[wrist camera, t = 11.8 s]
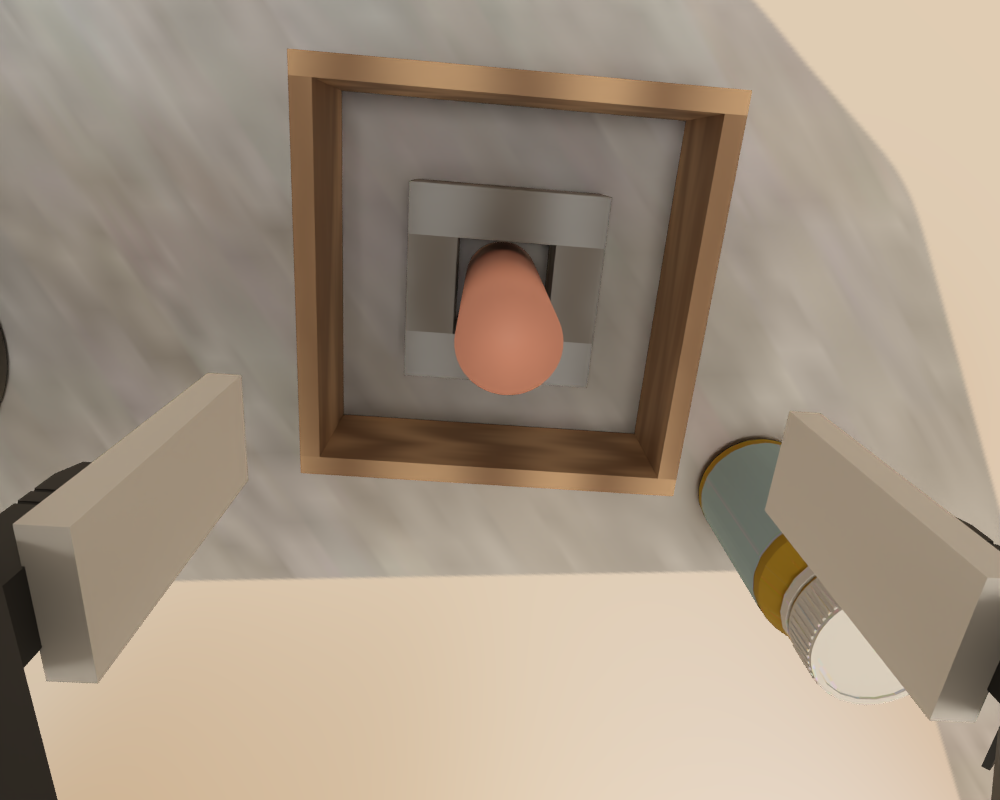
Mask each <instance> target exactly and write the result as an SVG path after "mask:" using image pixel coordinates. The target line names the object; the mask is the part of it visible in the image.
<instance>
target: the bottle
mask: <svg viewBox="0 0 1000 800" xmlns="http://www.w3.org/2000/svg"><path fill="white" fill-rule="evenodd" d="M780 447H781V442H778V441H773V440H768V439H758V440H748V441H744V442H742V443H739V444H737V445H734V446H732V447H730V448H728V449H726V450H725V451H724V452H722V453H721V454H720V455H718V456H717V457H716V458H715V459H714V460H713V461H712V463H711V464H710V465H709V467H708V468H707V469H706V471H705V473H704V474H703V477H702V480H701V483H700V486H699V503H700V506H701V509H702V511H703V514H704V516H705V518H706V520H707V522H708V523H709V525H710V527H711V528H712V530H713V532H714V533H715V535H716V537H717V538H718V540H719V542H720V543H721V545H722V547H723V548H724V550H725V552H726V553H727V555H728V557H729V558H730V560H731V562H732V563H733V565H734V567H735V568H736V570H737V572H738V573H739V575H740V577H741V578H742V580H743V582H744V583H745V585H746V587H747V588H748V590H749V592H750V593H751V595H752V597H753V598H754V600H755V602H756V603H757V605H758V607H759V608H760V609H761V611H762V612H763V613H764V615H765V617H766V618H767V619H768V621H769V622H770V623H772V625H773V626H774V627H775V628H776V629H778V630H780V631H781V632H782V633H784V634H785V635H786V636H788V637H789V639H790V640H791V642H792V643H793V646H794V648H795V650H796V652H797V653H798V655H799V657H800V658H801V660H802V661H803V663H804V665H805V666H806V668H807V669H808V671H809V673H810V674H811V676H812V678H813V679H814V680H815V681H816V683H817V684H818V685H820V687H821V688H822V689H823V690H825V691H826V692H827V693H828V694H830V695H831V696H833V697H835V698H837V699H839V700H842V701H845V702H848V703H853V704H862V705H871V704H881V703H886V702H890V701H894V700H897V699H900V698H903V697H905V696H907V695H909V694H908V692H907V691H906V690H905V689H904V687H903V686H902V685H901V683H900V682H899V681H898V680H897V678H896V677H895V676H894V675H893V673H892V672H891V671H890V669H889V668H888V667H887V666H886V664H885V663H884V662H883V661H882V659H881V658H880V657H879V655H878V654H877V653H876V652H875V650H874V649H873V648H872V647H871V645H870V644H869V643H868V641H867V640H866V639H865V638H864V636H863V635H862V634H861V633H860V631H859V630H858V629H857V627H856V626H855V625H854V624H853V622H852V621H851V620H850V618H849V617H848V616H847V615H846V613H845V612H844V611H843V610H842V608H841V607H840V606H839V604H838V603H837V602H836V601H835V599H834V598H833V597H832V596H831V594H830V593H829V592H828V590H827V589H826V588H825V587H824V585H823V584H822V583H821V582H820V580H819V579H818V578H817V576H816V575H815V574H814V573H813V571H812V570H811V569H810V568H809V566H808V565H807V564H806V562H805V561H804V560H803V559H802V557H801V556H800V555H799V554H798V552H797V551H796V550H795V548H794V547H793V546H792V545H791V543H790V542H789V541H788V539H787V538H786V537H785V536H784V534H783V533H782V532H781V531H780V529H779V528H778V527H777V525H776V524H775V523H774V522H773V520H772V519H771V518H770V517H769V515H768V514H767V513H766V511H765V507H766V503H767V499H768V495H769V491H770V487H771V483H772V479H773V475H774V471H775V467H776V463H777V459H778V455H779V451H780Z"/></svg>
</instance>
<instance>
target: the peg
mask: <svg viewBox="0 0 1000 800" xmlns="http://www.w3.org/2000/svg"><path fill="white" fill-rule="evenodd" d="M454 348H455V354H456V357H457V361H458V363H459V365H460V367H461V369H462V370H463V372H464V373H465V375H466V376H467V377H468V378H469V379H470V380H471V381H472V382H473V383H474V384H476V385H477V386H479V387H480V388H482V389H484V390H486V391H489V392H492V393H496V394H501V395H515V394H521V393H525V392H528V391H530V390H533V389H534V388H536V387H538V386H540V385H541V384H542V383H544V382H545V381H546V380H547V379H548V378H549V377H550V376H551V375H552V373H553V372H554V371H555V369H556V368H557V366H558V364H559V361H560V359H561V356H562V351H563V332H562V328H561V325H560V322H559V320H558V317H557V315H556V313H555V310H554V308H553V306H552V304H551V301H550V299H549V297H548V295H547V292H546V290H545V288H544V285H543V283H542V281H541V279H540V276H539V274H538V272H537V269H536V267H535V265H534V263H533V261H532V259H531V257H530V256H529V254H528V253H527V252H526V251H525V250H523V249H522V248H521V247H519V246H517V245H515V244H513V243H509V242H494V243H490V244H488V245H485V246H484V247H482V248H481V249H479V250H478V251H477V252H476V253H475V254H474V256H473V257H472V258H471V260H470V262H469V265H468V268H467V272H466V277H465V283H464V288H463V293H462V299H461V304H460V310H459V315H458V320H457V326H456V331H455V338H454Z"/></svg>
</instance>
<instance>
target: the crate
mask: <svg viewBox="0 0 1000 800" xmlns="http://www.w3.org/2000/svg"><path fill="white" fill-rule="evenodd" d="M287 60H288V91H289V122H290V153H291V184H292V215H293V245H294V276H295V307H296V338H297V369H298V400H299V431H300V462H301V473H310V474H326V475H342V476H358V477H374V478H390V479H406V480H422V481H438V482H454V483H470V484H486V485H502V486H518V487H534V488H550V489H566V490H582V491H598V492H614V493H630V494H646V495H662V496H673V494H674V489H675V483H676V478H677V473H678V468H679V463H680V458H681V453H682V448H683V442H684V437H685V432H686V427H687V422H688V417H689V412H690V407H691V401H692V396H693V391H694V386H695V381H696V376H697V371H698V366H699V360H700V355H701V350H702V345H703V340H704V335H705V330H706V324H707V319H708V314H709V309H710V304H711V299H712V294H713V289H714V283H715V278H716V273H717V268H718V263H719V258H720V253H721V248H722V242H723V237H724V232H725V227H726V222H727V217H728V212H729V207H730V201H731V196H732V191H733V186H734V181H735V176H736V171H737V166H738V160H739V155H740V150H741V145H742V140H743V135H744V130H745V125H746V119H747V114H748V109H749V104H750V99H751V94H752V90H741V89H729V88H718V87H707V86H696V85H685V84H674V83H663V82H652V81H641V80H630V79H619V78H607V77H596V76H585V75H574V74H563V73H552V72H541V71H530V70H519V69H508V68H497V67H485V66H474V65H463V64H452V63H441V62H430V61H419V60H408V59H397V58H386V57H375V56H363V55H352V54H341V53H330V52H319V51H308V50H297V49H287ZM342 91H352V92H364V93H375V94H386V95H398V96H409V97H421V98H432V99H443V100H455V101H466V102H477V103H489V104H500V105H512V106H523V107H534V108H546V109H557V110H569V111H580V112H591V113H603V114H614V115H626V116H637V117H648V118H660V119H671V120H683V121H686V124H685V130H684V136H683V142H682V148H681V154H680V160H679V166H678V172H677V178H676V184H675V190H674V196H673V203H672V209H671V215H670V221H669V227H668V233H667V239H666V245H665V251H664V257H663V263H662V269H661V275H660V281H659V287H658V293H657V299H656V306H655V312H654V318H653V324H652V330H651V336H650V342H649V348H648V354H647V360H646V366H645V372H644V378H643V384H642V390H641V396H640V402H639V408H638V415H637V421H636V427H635V433H634V434H629V433H614V432H599V431H584V430H569V429H554V428H539V427H524V426H509V425H494V424H479V423H464V422H449V421H434V420H418V419H403V418H388V417H373V416H358V415H344V399H343V241H342ZM611 202H612V198H611V197H608V196H605V195H602V194H594V193H582V192H570V191H558V190H546V189H534V188H522V187H509V186H497V185H485V184H473V183H461V182H449V181H437V180H424V179H415V180H411V181H409V212H408V248H407V283H406V318H405V354H404V375H408V376H423V377H437V378H452V379H466V380H470V379H469V378H468V377H467V376H466V375H465V373H464V372H463V370H462V369H461V367H460V365H459V363H458V361H457V357H456V354H455V348H454V338H455V331H456V326H457V320H458V319H457V318H456V303H457V285H458V267H459V249H460V238H471V239H483V240H496V241H509V242H522V243H534V244H547V245H549V254H548V264H547V274H546V283H545V290H546V292H547V295H548V297H549V299H550V301H551V304H552V306H553V308H554V310H555V313H556V315H557V317H558V320H559V322H560V325H561V328H562V332H563V351H562V356H561V359H560V361H559V364H558V366H557V368H556V369H555V371H554V372H553V373H552V375H551V376H550V377H549V378H548V379H547V380H546V381H545V382H544V383H542V384H541V385H553V386H567V387H581V388H587V382H588V375H589V367H590V360H591V352H592V345H593V337H594V330H595V322H596V315H597V307H598V300H599V292H600V285H601V277H602V270H603V262H604V255H605V247H606V240H607V232H608V225H609V217H610V210H611Z"/></svg>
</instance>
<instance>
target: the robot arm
mask: <svg viewBox="0 0 1000 800" xmlns="http://www.w3.org/2000/svg"><path fill="white" fill-rule="evenodd" d="M6 376H7V359H6V350H5V345H4V340H3V336H2V333H1V330H0V402H1V399H2V396H3V393H4V389H5V384H6ZM247 481H248V470H247V455H246V440H245V425H244V410H243V395H242V380H241V375H233V374H218V373H207V374H206V375H204V376H203V377H202V378H201V379H199V380H198V381H197V382H195V383H194V384H193V385H191V386H190V387H189V388H188V389H186V390H185V391H184V392H182V393H181V394H180V395H179V396H177V397H176V398H175V399H173V400H172V401H171V402H170V403H168V404H167V405H166V406H164V407H163V408H162V409H160V410H159V411H158V412H157V413H155V414H154V415H153V416H151V417H150V418H149V419H148V420H146V421H145V422H144V423H142V424H141V425H140V426H139V427H137V428H136V429H135V430H133V431H132V432H131V433H130V434H128V435H127V436H126V437H124V438H123V439H122V440H120V441H119V442H118V443H117V444H115V445H114V446H113V447H111V448H110V449H109V450H108V451H106V452H105V453H104V454H102V455H101V456H100V457H99V458H97V459H96V460H95V461H93V462H82V463H79V464H77V465H74V466H72V467H70V468H67V469H65V470H62V471H60V472H58V473H55V474H54V475H52V476H51V477H50V478H48V479H47V480H45V481H44V482H43V483H41V484H40V485H39V486H37V487H36V488H35V490H34V491H30V492H29V493H28V494H26V495H25V496H24V497H22V498H21V499H20V500H18V504H13V505H11V506H10V507H9V508H7V509H6V510H5V511H3V512H2V513H0V800H57V796H56V792H55V788H54V785H53V780H52V777H51V773H50V769H49V765H48V761H47V757H46V753H45V749H44V746H43V742H42V738H41V734H40V730H39V726H38V722H37V718H36V715H35V711H34V707H33V703H32V699H31V695H30V691H29V687H28V684H27V680H26V676H25V672H24V667H25V666H26V665H27V664H28V662H29V661H30V660H31V659H32V658H33V657H34V656H35V655H36V654H37V653H38V651H39V650H40V654H41V659H42V663H43V668H44V672H45V676H46V681H56V682H76V683H77V682H79V683H99V681H100V680H101V679H102V677H103V676H104V674H105V673H106V672H107V670H108V669H109V668H110V666H111V665H112V664H113V662H114V661H115V660H116V658H117V657H118V656H119V654H120V653H121V652H122V650H123V649H124V647H125V646H126V645H127V643H128V642H129V641H130V639H131V638H132V637H133V635H134V634H135V633H136V631H137V630H138V629H139V627H140V626H141V624H142V623H143V622H144V620H145V619H146V618H147V616H148V615H149V614H150V612H151V611H152V610H153V608H154V607H155V606H156V604H157V603H158V601H159V600H160V599H161V597H162V596H163V595H164V593H165V592H166V591H167V589H168V588H169V586H170V585H171V584H172V583H173V581H174V580H175V578H176V577H177V576H178V574H179V573H180V572H181V570H182V569H183V568H184V566H185V565H186V564H187V562H188V561H189V559H190V558H191V557H192V555H193V554H194V553H195V551H196V550H197V549H198V547H199V546H200V545H201V543H202V542H203V541H204V539H205V538H206V536H207V535H208V534H209V532H210V531H211V530H212V528H213V527H214V526H215V524H216V523H217V522H218V520H219V519H220V518H221V516H222V515H223V513H224V512H225V511H226V509H227V508H228V507H229V505H230V504H231V503H232V501H233V500H234V499H235V497H236V496H237V495H238V493H239V492H240V490H241V489H242V488H243V486H244V485H245V484H246V482H247ZM765 511H766V513H767V514H768V515H769V517H770V518H771V519H772V520H773V522H774V523H775V524H776V525H777V527H778V528H779V529H780V531H781V532H782V533H783V534H784V536H785V537H786V538H787V539H788V541H789V542H790V543H791V545H792V546H793V547H794V548H795V550H796V551H797V552H798V554H799V555H800V556H801V557H802V559H803V560H804V561H805V562H806V564H807V565H808V566H809V568H810V569H811V570H812V571H813V573H814V574H815V575H816V576H817V578H818V579H819V580H820V582H821V583H822V584H823V585H824V587H825V588H826V589H827V590H828V592H829V593H830V594H831V596H832V597H833V598H834V599H835V601H836V602H837V603H838V604H839V606H840V607H841V608H842V610H843V611H844V612H845V613H846V615H847V616H848V617H849V618H850V620H851V621H852V622H853V624H854V625H855V626H856V627H857V629H858V630H859V631H860V633H861V634H862V635H863V636H864V638H865V639H866V640H867V641H868V643H869V644H870V645H871V647H872V648H873V649H874V650H875V652H876V653H877V654H878V655H879V657H880V658H881V659H882V661H883V662H884V663H885V664H886V666H887V667H888V668H889V669H890V671H891V672H892V673H893V675H894V676H895V677H896V678H897V680H898V681H899V682H900V683H901V685H902V686H903V687H904V689H905V690H906V691H907V692H908V694H909V695H910V696H911V698H912V699H913V700H914V701H915V703H916V704H917V705H918V706H919V708H920V709H921V710H922V712H923V713H924V714H925V715H926V717H927V718H928V719H929V720H931V721H952V722H976V720H977V717H978V715H979V713H980V710H981V708H982V706H983V704H984V701H985V699H986V697H987V695H988V692H990V693H991V695H992V696H993V697H994V698H995V699H996V700H997V701H998V702H999V703H1000V546H999V545H996V544H993V541H992V540H991V539H990V538H988V537H987V536H986V535H984V534H983V533H982V532H980V531H979V530H978V529H976V528H975V527H974V526H972V525H970V524H969V523H967V522H965V521H963V520H961V519H959V518H957V517H955V516H953V515H952V514H951V513H949V512H948V511H947V510H945V509H944V508H943V507H942V506H940V505H939V504H938V503H936V502H935V501H934V500H932V499H931V498H930V497H929V496H927V495H926V494H925V493H923V492H922V491H921V490H920V489H918V488H917V487H916V486H914V485H913V484H912V483H910V482H909V481H908V480H907V479H905V478H904V477H903V476H901V475H900V474H899V473H897V472H896V471H895V470H894V469H892V468H891V467H890V466H888V465H887V464H886V463H884V462H883V461H882V460H881V459H879V458H878V457H877V456H875V455H874V454H873V453H871V452H870V451H869V450H868V449H866V448H865V447H864V446H862V445H861V444H860V443H858V442H857V441H856V440H855V439H853V438H852V437H851V436H849V435H848V434H847V433H845V432H844V431H843V430H842V429H840V428H839V427H838V426H836V425H835V424H834V423H832V422H831V421H830V420H829V419H827V418H826V417H825V416H823V415H822V414H821V413H810V412H795V411H790V412H789V415H788V419H787V423H786V427H785V431H784V435H783V439H782V443H781V447H780V451H779V455H778V459H777V463H776V467H775V471H774V475H773V479H772V483H771V487H770V491H769V495H768V499H767V503H766V507H765ZM994 764H995V766H994V776H993V787H992V797H991V800H1000V727H999V729H998V731H997V733H996V736H995V738H994V740H993V742H992V744H991V747H990V749H989V751H988V753H987V755H986V757H985V760H984V762H983V764H982V767H984V768H986V769H988V770H991V768H992V767H993V765H994Z"/></svg>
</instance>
